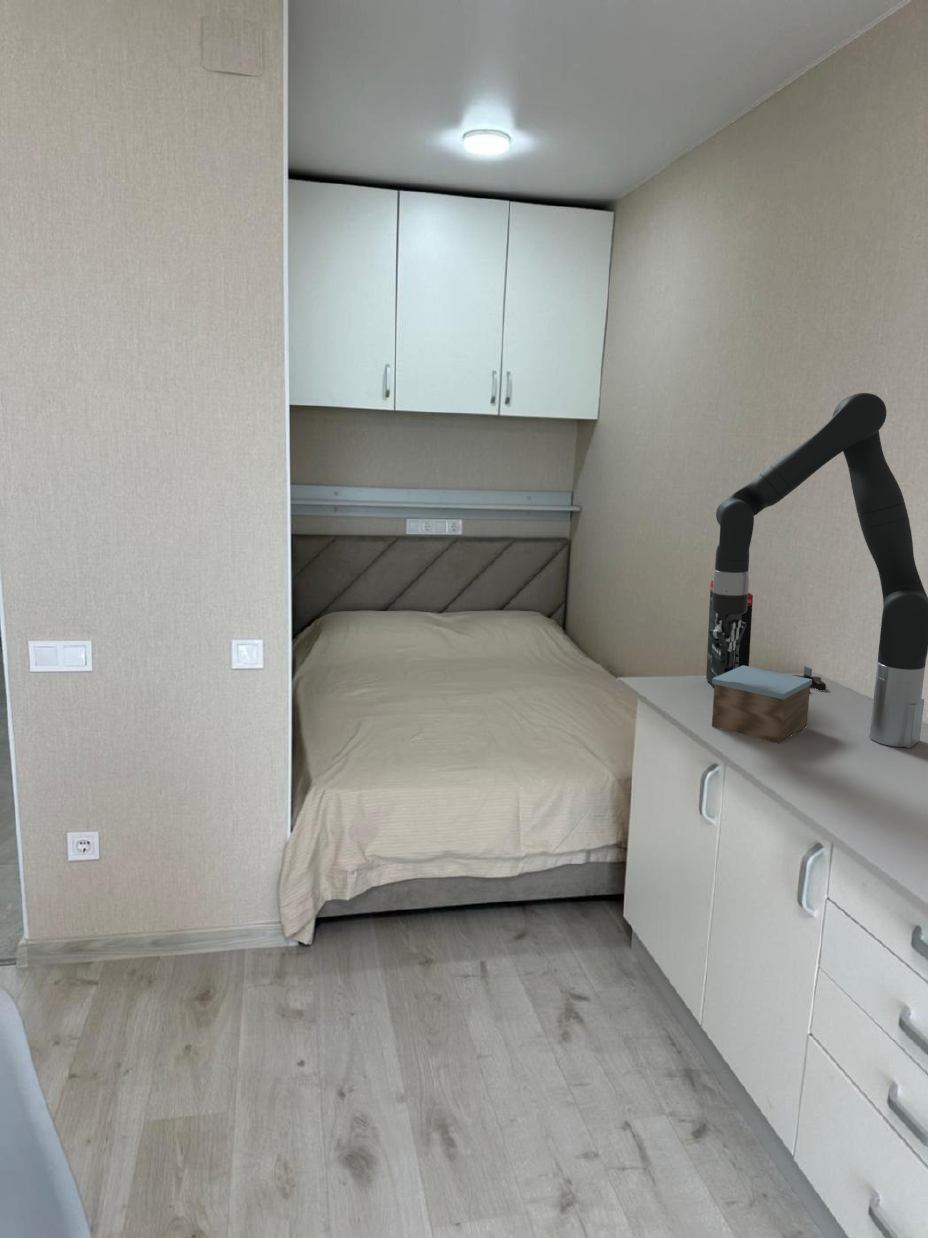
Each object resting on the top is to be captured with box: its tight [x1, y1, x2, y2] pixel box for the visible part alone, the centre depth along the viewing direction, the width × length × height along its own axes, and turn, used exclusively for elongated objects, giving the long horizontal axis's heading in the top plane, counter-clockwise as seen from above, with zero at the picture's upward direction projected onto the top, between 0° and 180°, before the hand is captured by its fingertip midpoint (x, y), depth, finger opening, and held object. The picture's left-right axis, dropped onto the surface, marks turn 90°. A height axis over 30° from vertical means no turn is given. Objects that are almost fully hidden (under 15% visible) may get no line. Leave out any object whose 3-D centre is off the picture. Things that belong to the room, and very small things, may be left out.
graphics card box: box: [705, 580, 754, 689], centre depth 227 cm, size 17×7×27 cm, turn 0°
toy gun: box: [792, 665, 827, 691], centre depth 232 cm, size 10×12×5 cm
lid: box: [712, 665, 812, 699], centre depth 201 cm, size 17×15×1 cm
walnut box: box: [711, 684, 811, 744], centre depth 202 cm, size 16×14×10 cm
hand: (726, 666), depth 200 cm, fingers closed
